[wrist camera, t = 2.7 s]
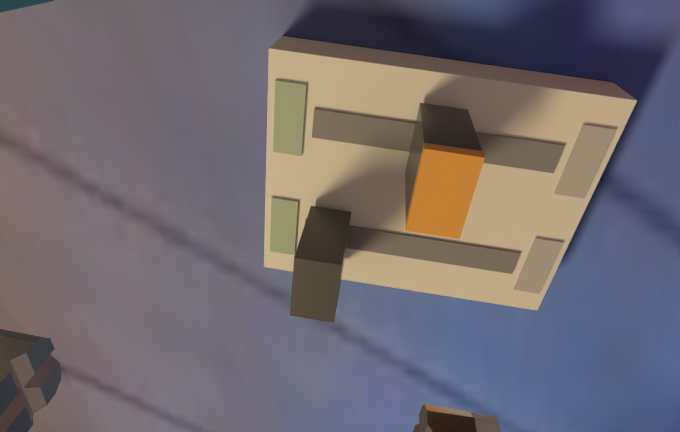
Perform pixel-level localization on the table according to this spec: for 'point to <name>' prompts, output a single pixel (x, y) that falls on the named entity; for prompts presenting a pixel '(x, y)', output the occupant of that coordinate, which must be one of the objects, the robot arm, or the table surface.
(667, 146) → the table surface
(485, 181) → the breaker panel
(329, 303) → the block
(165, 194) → the table surface
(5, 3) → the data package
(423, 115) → the block
